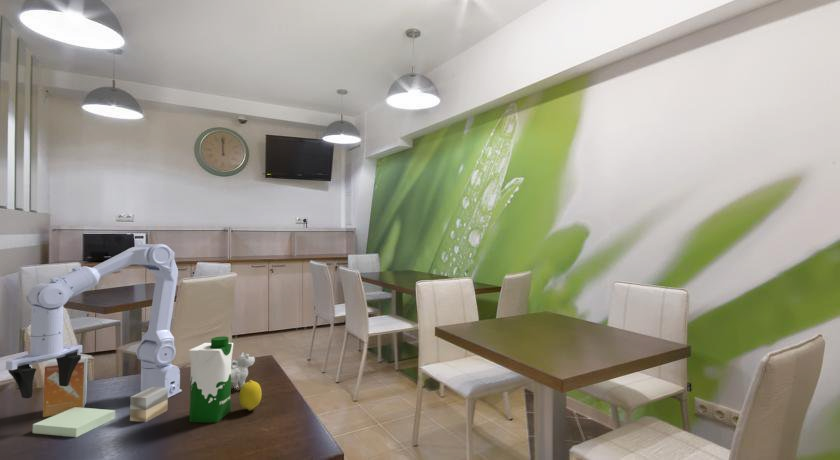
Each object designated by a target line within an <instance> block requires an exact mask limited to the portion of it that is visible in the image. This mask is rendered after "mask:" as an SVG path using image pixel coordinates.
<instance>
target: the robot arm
mask: <svg viewBox="0 0 840 460" xmlns="http://www.w3.org/2000/svg"><path fill="white" fill-rule="evenodd" d="M175 255H176V253H175V252H174V250H173V249H171V248H170V247H169V246H168V245H166V244H163V243H157V244H155V243H154V244H150V243H149V244H148V243H140V244H138V245H137V246H133V247H129V248H128V249H126V250H124V251H122V252H121V253H119V254H117V255H114V256H113V257H111V258H109V259H107V260H104V261H103V262H100V263H99V264H96V265H95V266H93V267H89V266H86V265H83V266H74V267H73V268H71V270H72V271H69V272H67V273H65V274H63V275H61V276H58V277H57V276H54V277H51V278H50V280H49V281H50V282H42V283H38V284H36V285H34V286H33V287H31V289H30V290H29V292H28V293H27V295H26V296H25V299H26V301H27V303H28V304H29V305H30V306H31V310H30V311H31V314H30V341H29V342H30V343H29V344H30V349H29V350H30V351H29V352H30V353H28V354H24V355H22V356H19V357H16V358H13V359H8V360H6V361H5V370H7V371H8V373H9V374H10V376H11V377H12V378H13V380H14V381H15V383H16V385H17V386H18V389H19V392H20V395H21V398H22V399H30V398H32V396H33V388H34V387H33V382H34V379H35V375H36V371H37V368H35V367H32V365H36V364H39V363H43V362H47V361H48V362H49V361H53V360H57V363H58V369H59V385H60V386H65V387H66V386H68V385H69V381H70V378H71V375H72V373H73V371H74V369H75V367H76V365H77V363H78V362H79V361H80V359H81V357H82V355H81V354H82V353H83V345H82V344H73V345H68V346H64V339H63V338H64V305H66V304H67V303H68V301H69V299H71V298H73V297H75V296H77V295H80V294H81V293H83V292H86V291H88V290H89V289H92V288H94V287H96V286H97V285H98V284H99V281H100V279H101V278H104V277H106V276H108V275H110V274H113V273H115V272H117V271H119V270H120V271H121V270H122V269H124V268H126V267H129V266H131V265H139V266H142V267H143V268H145V269H147V270H148V271H149V272H151V273H152V275H154V276H155V283H154V288H153V289H154V290H153V296H152V302H151V303H152V304H151V309H150V315H149V322H148V330H147V331H146V332H145V333H144V334H143V335H142V337H141V341H140V344H139V345H138V347H137V349H136V357H137V359H138V360H140V392H143V391H145V390H147V389H149V388H152V387H161V388H168V399H169V398H171V397H173V396H174V395H175V396H176V395H177V394H179V393H181V392H183V390H182V389H180V387H181V370H180V368H179V366H177V365H173V364H172V361H173V360H174V359H175V357H176V354H177V353H176V352H177V349H176V347H175V337H174V335H173V333H172V332H171V325H172V317H173V312H174V311H173V310H174V304H175V303H174V302H175V297H176V291H177V283H178V277H179V269H178V266H177V263H176V260H175Z"/></svg>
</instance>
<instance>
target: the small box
mask: <svg viewBox="0 0 840 460" xmlns="http://www.w3.org/2000/svg"><path fill="white" fill-rule="evenodd" d="M43 375H44V376H43V378H44V379H43V380H44V381H43V400H42V401H43V402H42V404H43V405H42V418H48V417H52V416H55V415H57V414H59V413H62V412H64V411H67V410H69V409H72V408H74V407H80V408H85V406H86V404H87V391H88V390H87V387H88V386H87V385H88V384H87V383H88V380H87V379H88V378H87V377H88V356H81V359H80V361H79V362H78V363H77V365H76V367H75V369H74V371H73V373H72V375H71V378H70V381H69V385H68V386H66V387H65V386H60V385H59V369H58V363H57V360H56V359H53V360H48V362H47V363H46V365H45V366H44V374H43Z"/></svg>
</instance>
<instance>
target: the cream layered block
mask: <svg viewBox="0 0 840 460" xmlns="http://www.w3.org/2000/svg"><path fill="white" fill-rule="evenodd" d="M168 401H169V398H168V388H161V387H152V388H149V389H147V390H145V391H143V392H141V391H140V392H138V393H136V394H134V395H132V396H130V406H129V411H130V412H129V421H130V422H140V423H147V422H149V421H151V420H152V419H155V418H156V417H158V416H160V415H162V414H163V413H165V412H167V411H168Z"/></svg>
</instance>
